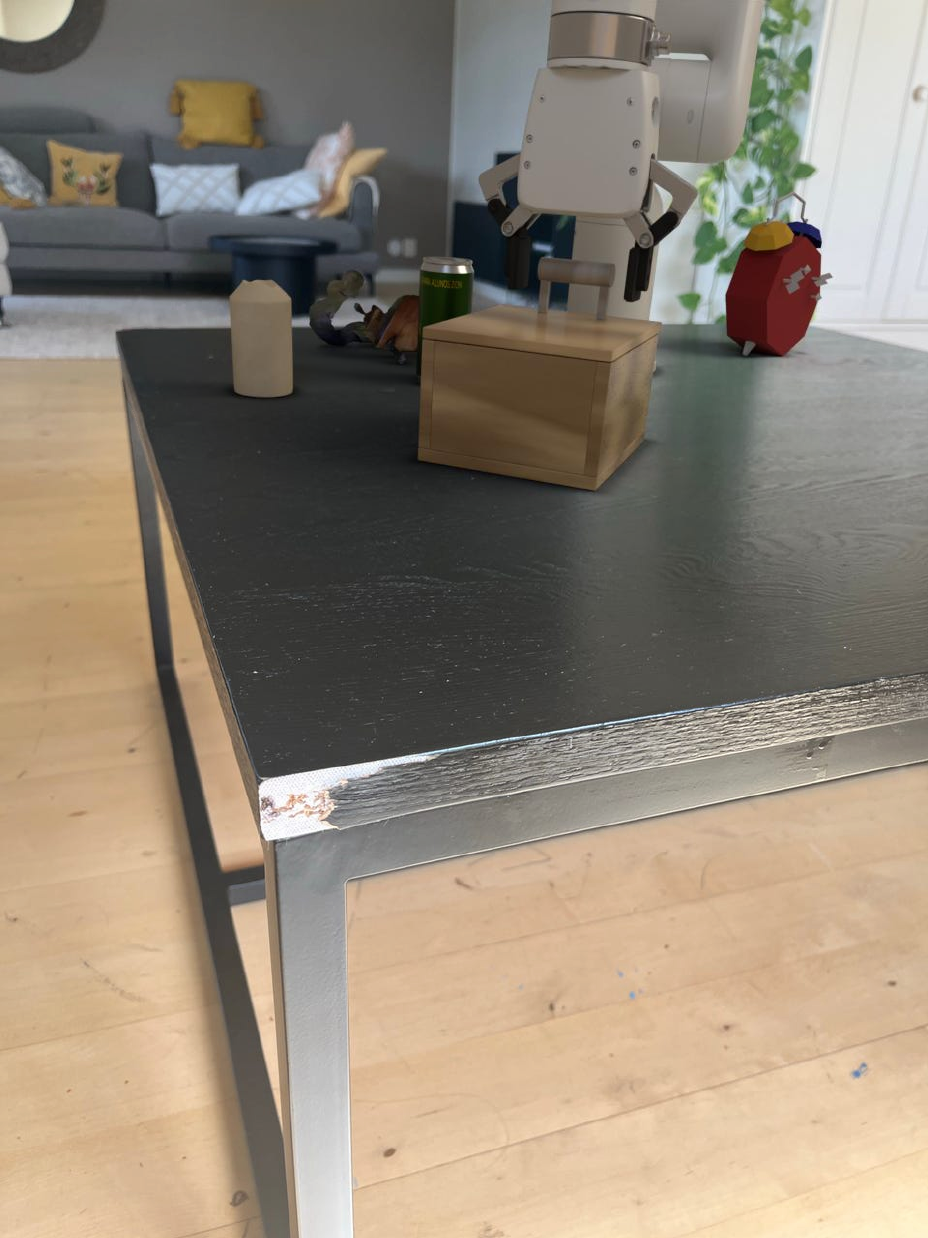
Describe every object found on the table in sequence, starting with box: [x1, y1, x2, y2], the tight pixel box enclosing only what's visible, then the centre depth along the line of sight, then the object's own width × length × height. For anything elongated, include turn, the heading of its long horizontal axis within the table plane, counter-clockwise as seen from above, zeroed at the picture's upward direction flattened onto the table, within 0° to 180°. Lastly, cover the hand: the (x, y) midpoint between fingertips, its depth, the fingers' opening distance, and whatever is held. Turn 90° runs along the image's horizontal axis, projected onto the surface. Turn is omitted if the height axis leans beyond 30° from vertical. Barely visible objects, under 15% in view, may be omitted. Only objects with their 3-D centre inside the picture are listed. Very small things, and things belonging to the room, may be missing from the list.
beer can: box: [415, 256, 475, 383], centre depth 97 cm, size 5×5×12 cm
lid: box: [423, 256, 663, 362], centre depth 72 cm, size 17×14×5 cm
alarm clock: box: [724, 190, 834, 357], centre depth 124 cm, size 15×9×20 cm, turn 136°
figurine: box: [308, 269, 419, 365], centre depth 110 cm, size 15×9×13 cm
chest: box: [417, 333, 659, 492], centre depth 75 cm, size 16×14×9 cm
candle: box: [229, 279, 294, 398], centre depth 88 cm, size 6×6×10 cm
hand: (573, 294), depth 77 cm, fingers open, 9 cm apart
